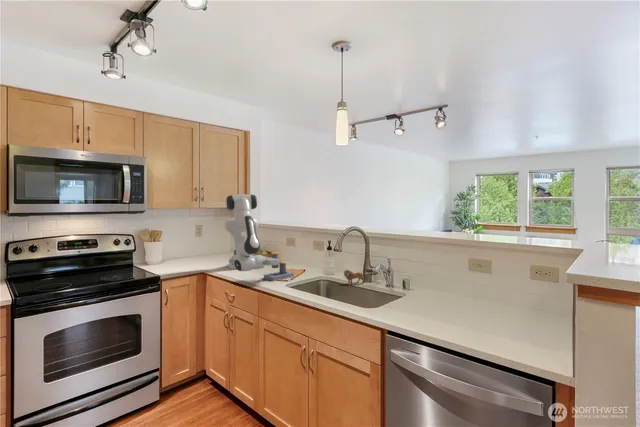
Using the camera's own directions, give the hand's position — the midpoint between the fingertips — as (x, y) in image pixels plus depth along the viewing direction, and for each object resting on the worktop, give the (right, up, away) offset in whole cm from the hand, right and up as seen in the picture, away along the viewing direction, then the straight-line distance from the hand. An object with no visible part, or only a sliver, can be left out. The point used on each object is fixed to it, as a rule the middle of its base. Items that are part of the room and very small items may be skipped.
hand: (276, 259), depth 222 cm
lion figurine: (+51, -13, -16) cm, 55 cm away
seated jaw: (+4, -13, +5) cm, 14 cm away
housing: (+2, -13, +2) cm, 13 cm away
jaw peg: (-1, -6, -1) cm, 6 cm away
